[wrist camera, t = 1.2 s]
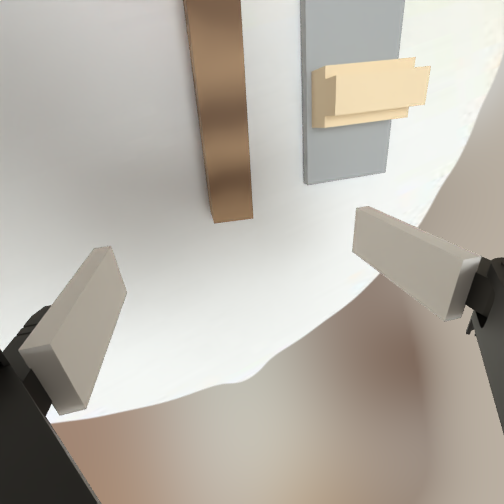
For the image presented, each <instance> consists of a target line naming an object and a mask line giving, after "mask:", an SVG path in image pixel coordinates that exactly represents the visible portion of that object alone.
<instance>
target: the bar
mask: <svg viewBox="0 0 504 504" xmlns="http://www.w3.org/2000/svg"><path fill="white" fill-rule="evenodd" d="M183 3H184V11H185V18H186V26H187V34H188V42H189V49H190V57H191V65H192V72H193V80H194V88H195V95H196V103H197V111H198V118H199V126H200V134H201V141H202V149H203V157H204V164H205V172H206V180H207V187H208V195H209V203H210V210H211V214H212V217H213V221H214V223H221V222H229V221H237V220H245V219H252V218H253V206H252V189H251V172H250V155H249V138H248V121H247V104H246V87H245V70H244V53H243V36H242V19H241V2H240V0H183Z"/></svg>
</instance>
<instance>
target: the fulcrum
mask: <svg viewBox="0 0 504 504" xmlns="http://www.w3.org/2000/svg"><path fill="white" fill-rule="evenodd" d="M404 4H405V0H300V6H301V57H302V108H303V159H304V183H305V184H307V185H312V184H318V183H324V182H330V181H336V180H342V179H348V178H355V177H361V176H367V175H373V174H379V173H385V172H386V163H387V155H388V146H389V137H390V128H391V119H397V118H405V117H407V116H408V109H409V106H417V105H425V100H426V94H427V87H428V81H429V75H430V68H431V66H425V67H415V68H414V65H415V58H416V57H412V58H402V59H398V57H399V49H400V40H401V31H402V22H403V13H404Z"/></svg>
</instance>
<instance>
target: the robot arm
mask: <svg viewBox="0 0 504 504" xmlns="http://www.w3.org/2000/svg"><path fill="white" fill-rule="evenodd" d="M352 252H353V253H355V254H356V255H357V256H359V257H360V258H361V259H363V260H364V261H365V262H367V263H368V264H369V265H370V266H372V267H373V268H374V269H376V270H377V271H378V272H380V273H381V274H382V275H384V276H385V277H386V278H388V279H389V280H390V281H392V282H393V283H394V284H396V285H397V286H398V287H400V288H401V289H402V290H404V291H405V292H406V293H407V294H409V295H410V296H411V297H413V298H414V299H415V300H417V301H418V302H419V303H421V304H422V305H423V306H425V307H426V308H427V309H429V310H430V311H431V312H433V313H434V314H435V315H437V316H438V317H439V318H440V319H442V320H443V321H444V322H445V321H449V320H454V319H458V318H461V317H462V314H463V311H464V308H465V305H467V306H469V307H470V308H472V309H473V310H474V311H473V313H472V316H471V319H470V322H469V325H468V328H467V330H466V334H470V332H471V331H472V330H475V336H476V337H477V340H478V344H479V348H480V351H481V355H482V358H483V362H484V366H485V369H486V373H487V376H488V380H489V383H490V387H491V390H492V394H493V398H494V401H495V405H496V408H497V412H498V415H499V419H500V423H501V426H502V430H503V433H504V258H495V259H493V260H488V259H486V258H484V257H482V256H480V255H478V254H476V253H474V252H471V251H469V250H467V249H465V248H462V247H460V246H458V245H455V244H453V243H451V242H449V241H446V240H444V239H442V238H440V237H437V236H435V235H433V234H431V233H428V232H426V231H424V230H421V229H419V228H417V227H415V226H412V225H410V224H408V223H406V222H403V221H401V220H399V219H397V218H394V217H392V216H390V215H387V214H385V213H383V212H381V211H378V210H376V209H374V208H372V207H369V206H366V207H359V208H356V216H355V227H354V237H353V248H352ZM126 294H127V291H126V288H125V285H124V282H123V280H122V277H121V274H120V271H119V268H118V265H117V262H116V259H115V256H114V253H113V251H112V248H111V246H107V247H100V248H94V249H93V251H92V252H91V253H90V255H89V256H88V257H87V259H86V260H85V261H84V263H83V264H82V265H81V267H80V268H79V269H78V271H77V272H76V273H75V275H74V276H73V277H72V279H71V280H70V281H69V283H68V284H67V285H66V287H65V288H64V289H63V291H62V292H61V293H60V295H59V296H58V297H57V299H56V300H55V301H54V303H53V304H52V305H50V306H45V307H43V308H42V309H41V310H39V311H38V312H37V313H35V314H34V315H33V316H31V318H30V319H29V320H28V321H27V323H26V324H25V325H24V328H22V329H21V330H20V331H19V332H18V334H17V337H14V339H13V340H12V341H11V342H10V344H9V345H8V346H7V347H6V348H5V350H4V351H3V352H2V351H1V350H0V504H101V502H100V501H99V499H98V498H97V496H96V495H95V493H94V491H93V490H92V488H91V487H90V485H89V484H88V482H87V480H86V479H85V477H84V476H83V474H82V473H81V471H80V470H79V468H78V466H77V465H76V463H75V462H74V460H73V459H72V457H71V456H70V454H69V452H68V451H67V449H66V447H65V446H64V444H63V443H62V441H61V440H60V438H59V437H58V435H57V434H56V432H55V430H54V429H53V427H52V426H51V424H50V422H49V421H48V419H47V418H46V417H45V416H46V414H47V412H48V410H49V408H50V406H51V404H52V405H53V406H54V408H55V409H56V411H57V412H58V414H59V416H60V415H64V414H68V413H72V412H76V411H80V410H85V409H86V408H87V405H88V402H89V399H90V397H91V394H92V391H93V388H94V385H95V382H96V380H97V377H98V374H99V371H100V368H101V365H102V363H103V360H104V357H105V354H106V351H107V348H108V345H109V343H110V340H111V337H112V334H113V331H114V328H115V326H116V323H117V320H118V317H119V314H120V311H121V309H122V306H123V303H124V300H125V297H126Z"/></svg>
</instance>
